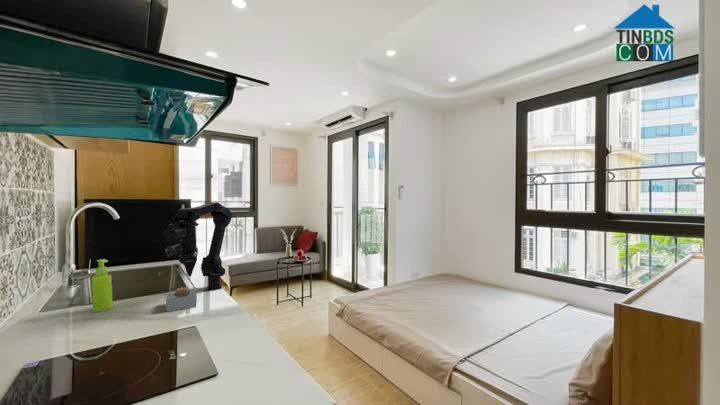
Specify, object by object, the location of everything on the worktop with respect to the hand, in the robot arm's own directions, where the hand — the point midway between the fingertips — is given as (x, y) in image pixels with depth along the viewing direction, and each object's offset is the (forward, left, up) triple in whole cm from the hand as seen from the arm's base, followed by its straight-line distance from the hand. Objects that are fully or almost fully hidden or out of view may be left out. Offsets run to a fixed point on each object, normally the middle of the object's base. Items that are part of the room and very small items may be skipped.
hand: (190, 273), depth 126 cm
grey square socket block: (+6, -3, -12) cm, 13 cm away
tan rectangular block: (+6, -3, -12) cm, 13 cm away
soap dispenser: (-5, -31, -12) cm, 33 cm away
